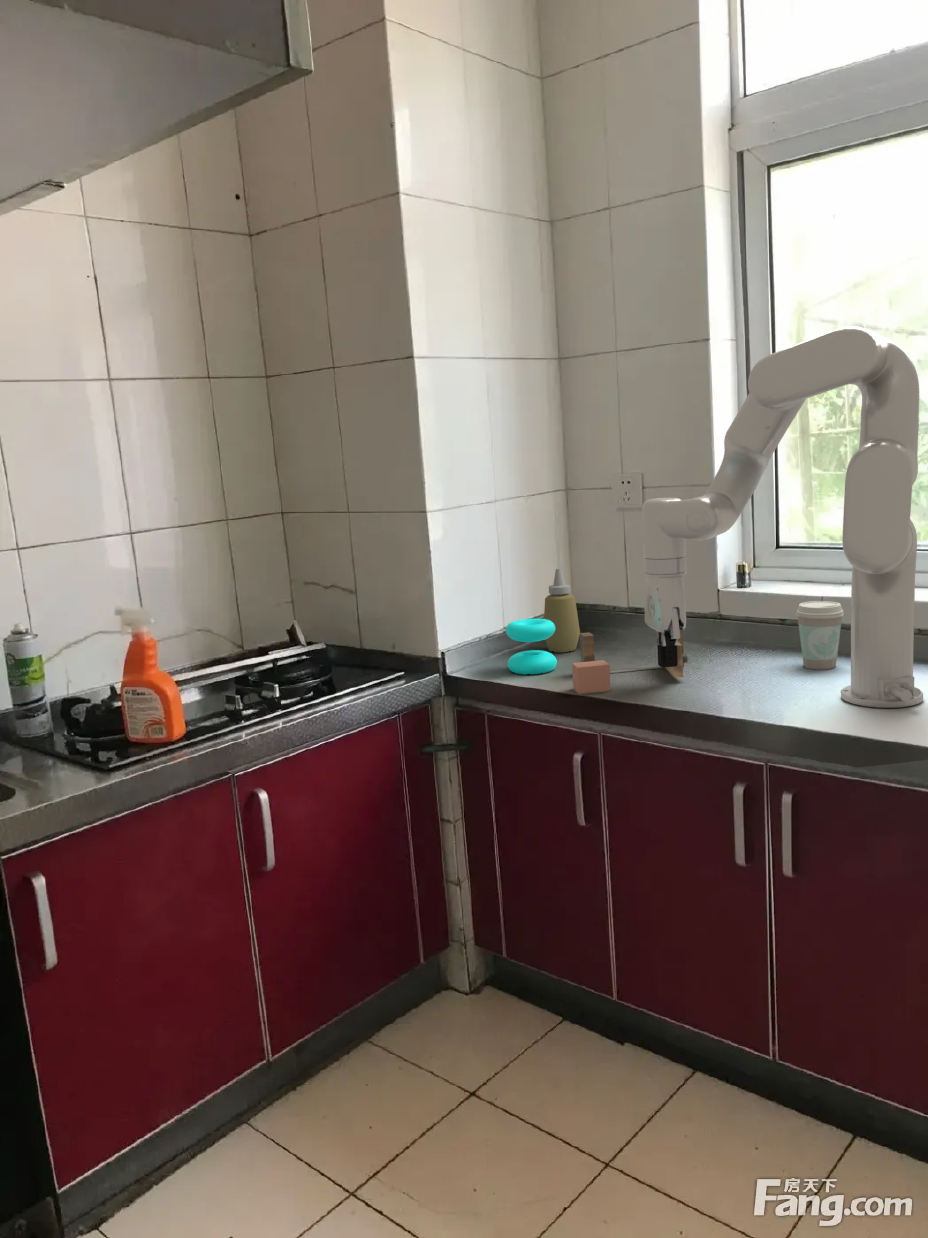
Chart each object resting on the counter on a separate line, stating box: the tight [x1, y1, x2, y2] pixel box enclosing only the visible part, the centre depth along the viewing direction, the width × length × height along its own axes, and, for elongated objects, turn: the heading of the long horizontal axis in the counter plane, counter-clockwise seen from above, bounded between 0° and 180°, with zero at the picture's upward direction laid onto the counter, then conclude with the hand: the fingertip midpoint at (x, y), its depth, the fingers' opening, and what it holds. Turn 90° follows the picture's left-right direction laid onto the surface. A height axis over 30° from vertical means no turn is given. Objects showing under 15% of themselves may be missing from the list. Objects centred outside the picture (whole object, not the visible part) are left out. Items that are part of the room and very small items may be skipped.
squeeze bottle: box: [543, 568, 581, 653], centre depth 217 cm, size 8×8×18 cm
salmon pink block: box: [571, 659, 611, 695], centre depth 183 cm, size 4×6×5 cm, turn 98°
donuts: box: [505, 618, 558, 675], centre depth 201 cm, size 10×10×10 cm
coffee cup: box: [795, 600, 845, 671], centre depth 189 cm, size 8×8×12 cm
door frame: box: [579, 629, 685, 675], centre depth 196 cm, size 3×20×8 cm, turn 98°
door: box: [664, 642, 688, 678], centre depth 190 cm, size 3×12×6 cm, turn 0°
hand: (667, 665), depth 183 cm, fingers closed
